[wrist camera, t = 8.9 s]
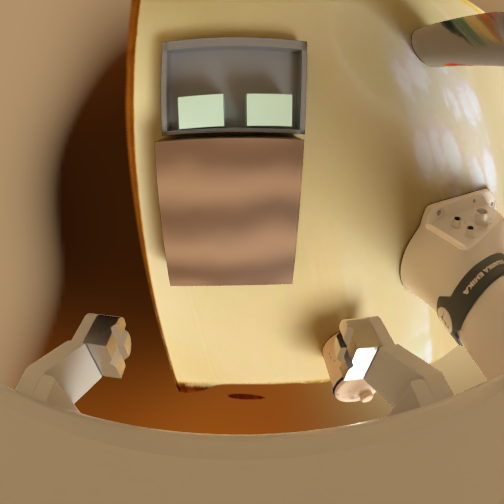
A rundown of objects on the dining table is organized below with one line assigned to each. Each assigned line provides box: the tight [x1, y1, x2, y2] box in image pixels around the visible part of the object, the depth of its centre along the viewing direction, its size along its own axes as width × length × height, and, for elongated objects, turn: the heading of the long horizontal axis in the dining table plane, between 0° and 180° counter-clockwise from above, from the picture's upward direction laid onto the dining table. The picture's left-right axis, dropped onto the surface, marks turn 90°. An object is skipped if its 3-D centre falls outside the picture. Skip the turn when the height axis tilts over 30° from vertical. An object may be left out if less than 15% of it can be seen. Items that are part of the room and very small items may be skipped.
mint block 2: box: [245, 94, 292, 126], centre depth 24 cm, size 4×4×3 cm
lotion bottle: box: [412, 12, 504, 67], centre depth 13 cm, size 6×6×20 cm
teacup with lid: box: [323, 332, 376, 402], centre depth 38 cm, size 12×9×12 cm
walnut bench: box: [155, 135, 304, 286], centre depth 29 cm, size 16×14×4 cm
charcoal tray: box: [161, 37, 307, 135], centre depth 24 cm, size 10×14×2 cm
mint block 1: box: [178, 94, 225, 129], centre depth 24 cm, size 4×4×3 cm
